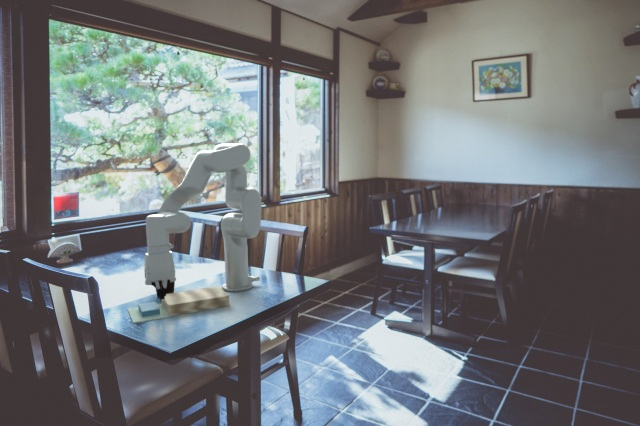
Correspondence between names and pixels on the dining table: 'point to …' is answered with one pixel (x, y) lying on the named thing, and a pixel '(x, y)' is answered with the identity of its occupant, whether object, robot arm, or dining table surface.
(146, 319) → the mat
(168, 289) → the coffee mug
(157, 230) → the robot arm
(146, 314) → the blue rectangular block
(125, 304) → the dining table surface
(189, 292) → the beige wood-grain panel
